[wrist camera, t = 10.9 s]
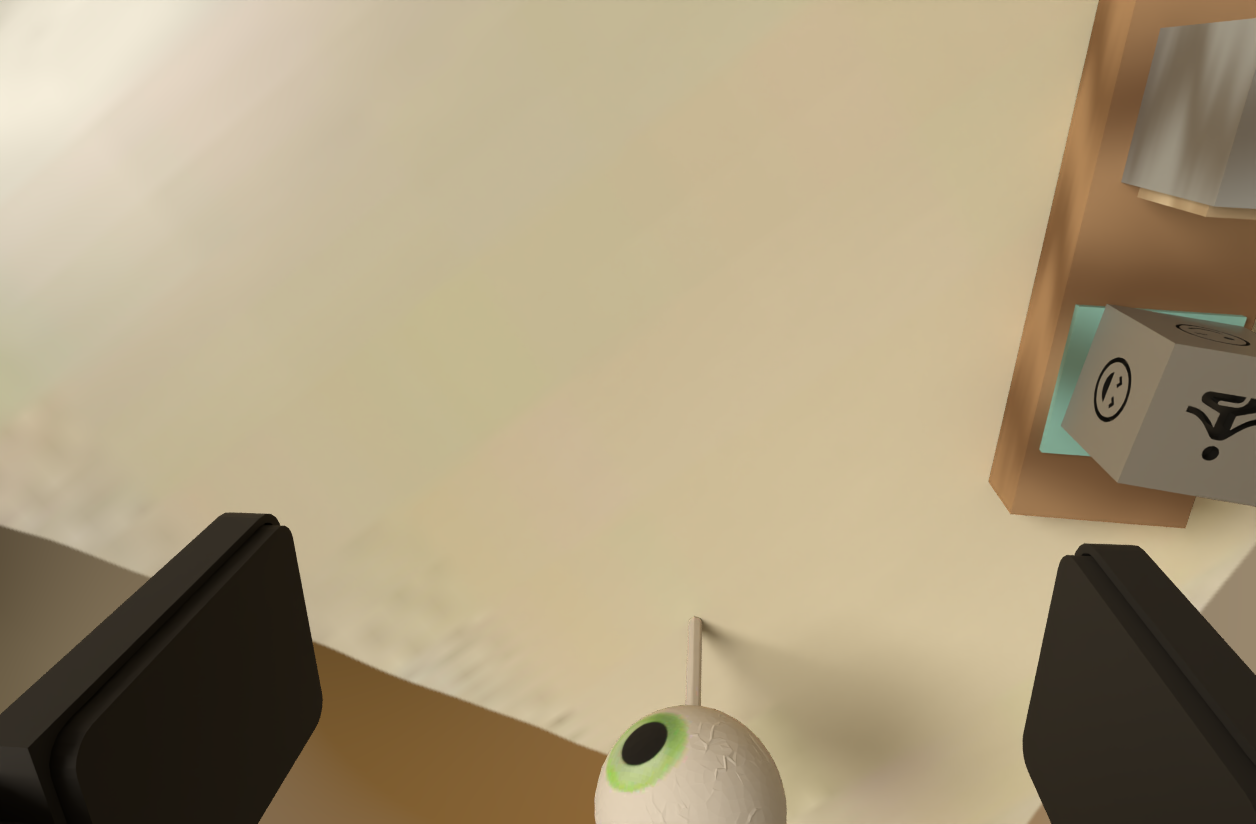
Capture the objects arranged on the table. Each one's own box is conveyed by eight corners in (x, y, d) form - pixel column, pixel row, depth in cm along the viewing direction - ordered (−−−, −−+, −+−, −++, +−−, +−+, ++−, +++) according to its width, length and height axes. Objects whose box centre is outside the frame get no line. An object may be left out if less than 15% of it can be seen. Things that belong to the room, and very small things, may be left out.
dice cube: (1242, 326, 31) (1334, 370, 27) (1188, 447, 33) (1265, 508, 28) (1106, 303, 31) (1175, 343, 27) (1060, 425, 33) (1117, 482, 29)
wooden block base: (1102, -15, 30) (1250, -49, 22) (1306, -7, 30) (1535, -38, 22) (988, 481, 38) (1066, 596, 30) (1149, 494, 37) (1275, 614, 29)
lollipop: (722, 537, 40) (728, 781, 26) (793, 646, 42) (833, 927, 28) (597, 598, 42) (542, 855, 28) (671, 700, 44) (653, 987, 30)
